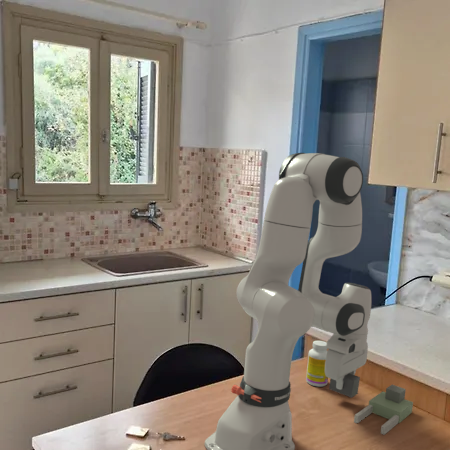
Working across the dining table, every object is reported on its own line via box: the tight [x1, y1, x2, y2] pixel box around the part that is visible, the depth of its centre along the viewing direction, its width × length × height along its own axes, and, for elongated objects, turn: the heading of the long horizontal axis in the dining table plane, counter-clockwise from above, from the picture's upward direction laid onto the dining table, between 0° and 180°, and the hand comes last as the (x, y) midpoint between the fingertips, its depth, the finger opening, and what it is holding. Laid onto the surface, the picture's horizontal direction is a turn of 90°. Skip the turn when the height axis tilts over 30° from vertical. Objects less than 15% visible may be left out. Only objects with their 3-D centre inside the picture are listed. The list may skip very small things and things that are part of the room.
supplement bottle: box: [305, 340, 329, 387], centre depth 160 cm, size 7×7×13 cm
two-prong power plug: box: [353, 384, 414, 436], centre depth 141 cm, size 18×9×6 cm, turn 139°
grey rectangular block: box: [328, 373, 361, 398], centre depth 148 cm, size 7×4×5 cm, turn 51°
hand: (344, 386), depth 148 cm, fingers closed on grey rectangular block, 4 cm apart
